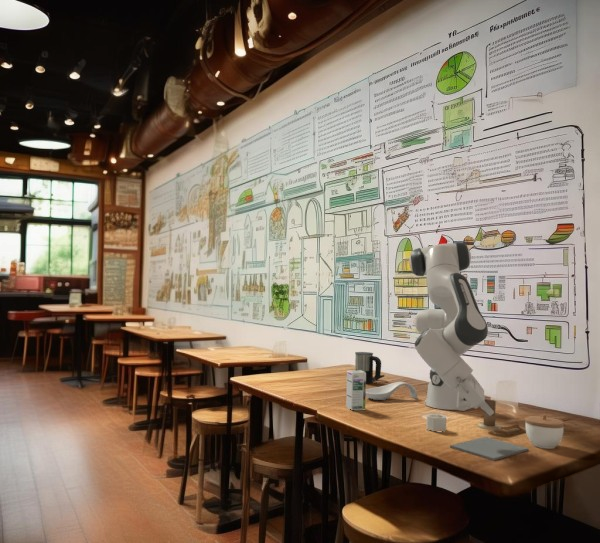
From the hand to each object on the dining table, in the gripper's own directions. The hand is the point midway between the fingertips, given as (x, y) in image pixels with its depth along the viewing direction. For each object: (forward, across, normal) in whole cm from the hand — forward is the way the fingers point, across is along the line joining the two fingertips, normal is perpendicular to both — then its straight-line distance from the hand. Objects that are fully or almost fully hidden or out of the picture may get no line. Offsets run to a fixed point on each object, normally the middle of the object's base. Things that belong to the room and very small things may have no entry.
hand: (492, 412), depth 152 cm
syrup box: (-26, +34, +42) cm, 60 cm away
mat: (+7, 0, +8) cm, 11 cm away
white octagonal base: (-4, +16, +19) cm, 25 cm away
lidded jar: (+18, +12, -3) cm, 22 cm away
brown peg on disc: (+3, 0, +4) cm, 4 cm away
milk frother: (-32, +100, +47) cm, 116 cm away
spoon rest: (-20, +61, +35) cm, 74 cm away
